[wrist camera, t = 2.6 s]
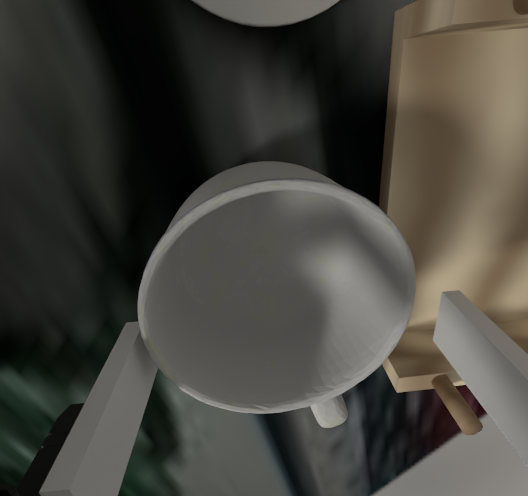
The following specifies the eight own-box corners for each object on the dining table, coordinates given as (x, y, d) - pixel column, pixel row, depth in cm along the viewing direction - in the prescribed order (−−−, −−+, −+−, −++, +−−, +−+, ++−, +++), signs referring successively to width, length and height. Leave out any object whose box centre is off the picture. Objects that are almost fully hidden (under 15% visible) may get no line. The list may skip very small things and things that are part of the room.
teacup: (147, 168, 17) (81, 225, 10) (348, 122, 17) (428, 148, 10) (217, 356, 23) (207, 475, 16) (364, 326, 23) (421, 434, 16)
